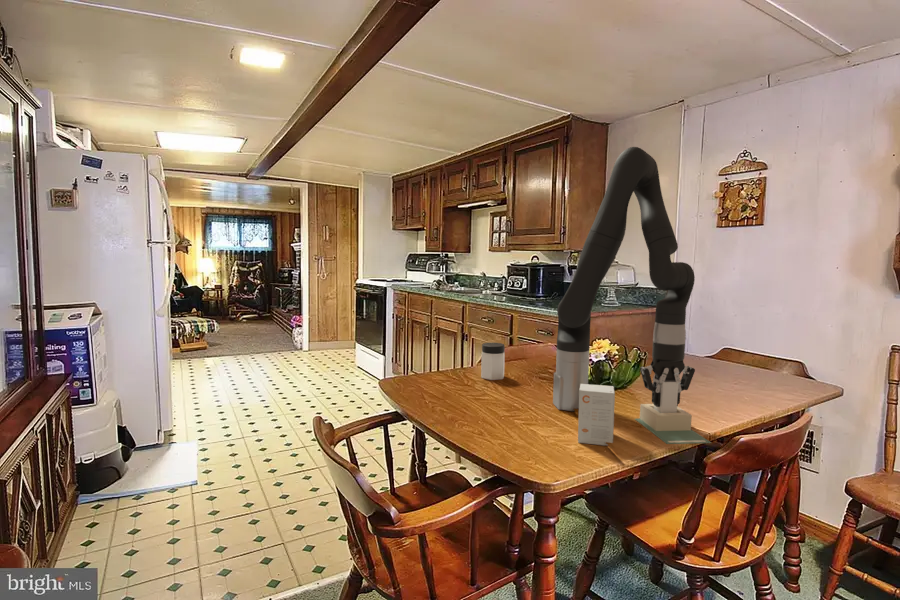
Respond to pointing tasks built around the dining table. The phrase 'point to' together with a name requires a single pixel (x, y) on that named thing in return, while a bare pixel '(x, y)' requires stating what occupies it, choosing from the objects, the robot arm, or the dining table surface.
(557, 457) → the dining table surface
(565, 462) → the dining table surface
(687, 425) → the beige square socket
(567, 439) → the dining table surface
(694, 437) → the board
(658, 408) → the plug
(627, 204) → the robot arm
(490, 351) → the jar
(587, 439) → the small box
